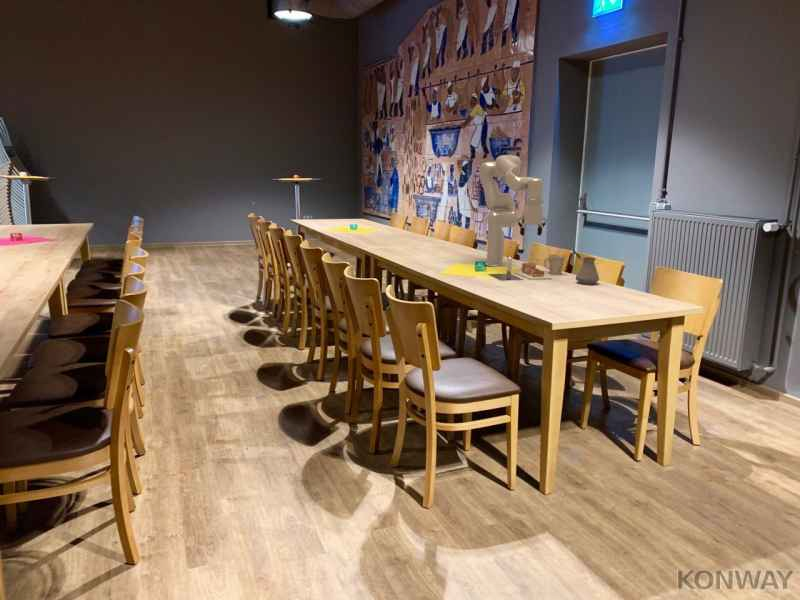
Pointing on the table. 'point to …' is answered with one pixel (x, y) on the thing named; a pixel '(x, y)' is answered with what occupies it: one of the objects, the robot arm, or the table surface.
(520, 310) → the table surface
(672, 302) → the table surface
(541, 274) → the link
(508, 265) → the stand
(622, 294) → the table surface
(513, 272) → the board
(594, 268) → the coffee pot
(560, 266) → the mug
